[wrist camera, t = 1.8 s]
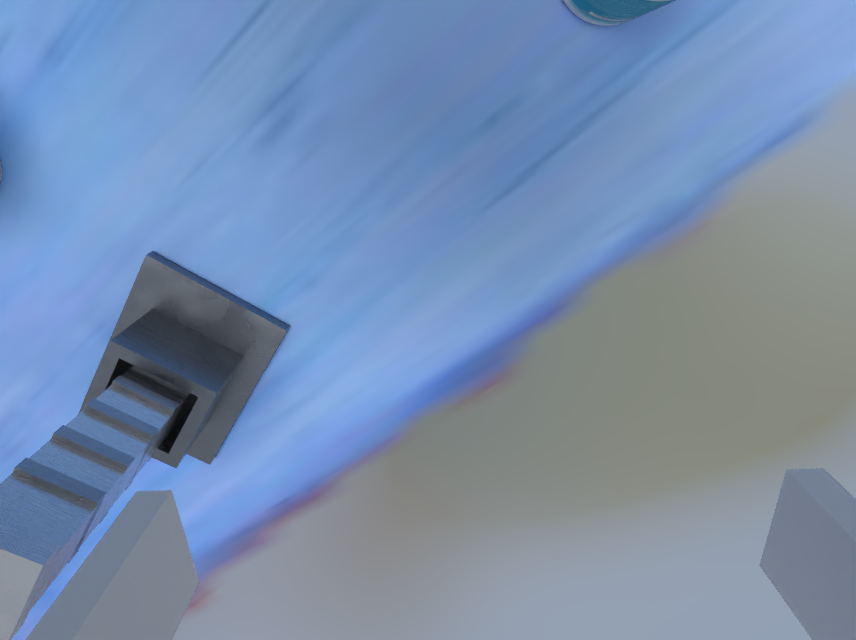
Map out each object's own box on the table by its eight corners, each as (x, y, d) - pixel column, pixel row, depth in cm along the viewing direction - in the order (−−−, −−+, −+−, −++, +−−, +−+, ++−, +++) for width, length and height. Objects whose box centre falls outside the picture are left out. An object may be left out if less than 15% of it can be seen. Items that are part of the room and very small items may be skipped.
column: (141, 386, 44) (-88, 612, 25) (169, 328, 42) (-59, 525, 22) (190, 409, 45) (5, 646, 25) (219, 354, 43) (43, 565, 23)
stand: (88, 398, 46) (25, 454, 39) (152, 251, 41) (93, 283, 33) (214, 457, 48) (176, 519, 41) (289, 325, 43) (261, 370, 36)
